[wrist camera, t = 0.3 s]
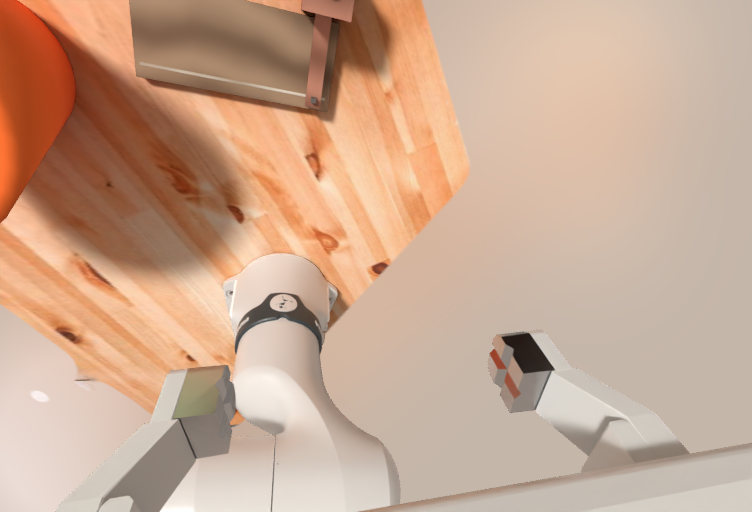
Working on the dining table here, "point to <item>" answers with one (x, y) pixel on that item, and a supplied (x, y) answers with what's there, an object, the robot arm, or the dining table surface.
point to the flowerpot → (29, 97)
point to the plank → (229, 48)
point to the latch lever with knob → (322, 41)
